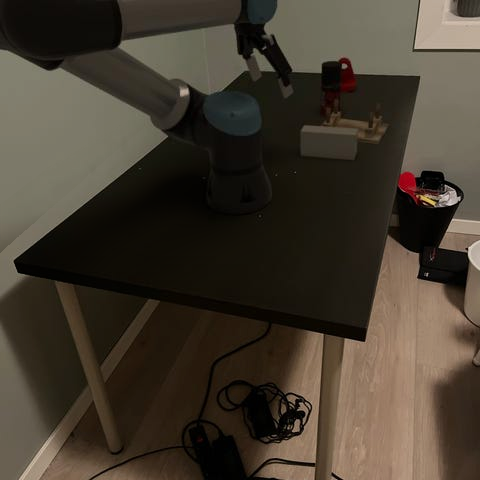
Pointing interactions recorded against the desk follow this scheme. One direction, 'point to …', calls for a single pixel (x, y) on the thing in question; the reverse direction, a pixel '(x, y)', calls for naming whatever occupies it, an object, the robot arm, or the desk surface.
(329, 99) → the deodorant
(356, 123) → the rack
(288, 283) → the desk surface
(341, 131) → the grey rectangular block
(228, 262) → the desk surface
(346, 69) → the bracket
